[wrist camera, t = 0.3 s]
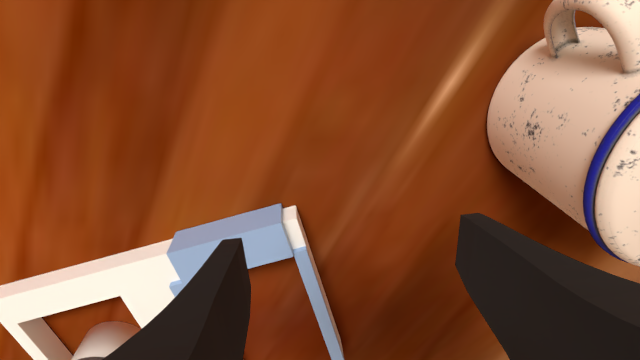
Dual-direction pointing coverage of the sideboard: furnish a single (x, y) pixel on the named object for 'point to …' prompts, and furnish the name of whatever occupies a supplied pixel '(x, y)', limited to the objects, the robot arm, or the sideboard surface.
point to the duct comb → (160, 278)
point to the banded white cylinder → (104, 340)
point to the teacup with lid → (578, 120)
